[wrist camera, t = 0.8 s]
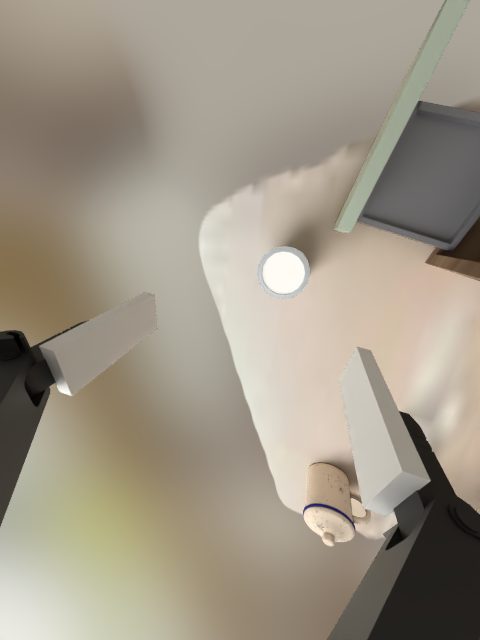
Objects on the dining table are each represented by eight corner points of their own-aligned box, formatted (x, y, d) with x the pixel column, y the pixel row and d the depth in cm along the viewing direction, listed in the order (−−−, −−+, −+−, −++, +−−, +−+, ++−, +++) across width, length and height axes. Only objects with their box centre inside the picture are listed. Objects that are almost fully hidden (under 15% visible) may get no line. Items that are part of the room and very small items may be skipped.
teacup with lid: (308, 485, 50) (304, 548, 40) (304, 457, 47) (299, 518, 37) (365, 498, 45) (378, 575, 35) (365, 469, 42) (378, 542, 32)
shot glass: (311, 287, 33) (309, 299, 27) (269, 287, 35) (258, 298, 29) (313, 241, 31) (311, 244, 24) (268, 245, 33) (255, 248, 27)
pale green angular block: (332, 229, 28) (337, 227, 19) (402, 81, 21) (466, -41, 12) (435, 264, 26) (502, 282, 16) (552, 109, 19) (788, -19, 9)
